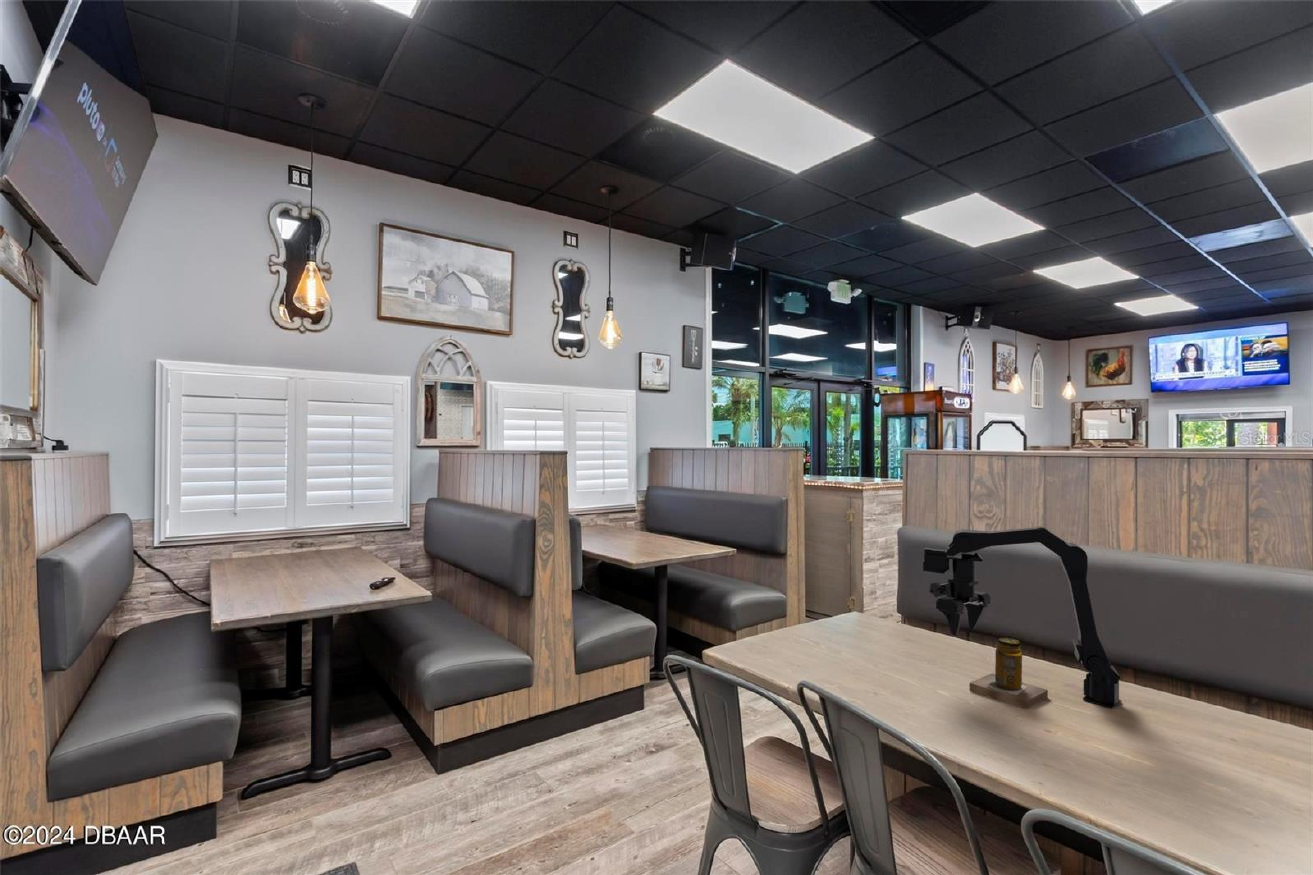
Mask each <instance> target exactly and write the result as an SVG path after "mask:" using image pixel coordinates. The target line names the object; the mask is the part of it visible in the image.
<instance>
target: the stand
mask: <svg viewBox="0 0 1313 875" xmlns="http://www.w3.org/2000/svg"><path fill="white" fill-rule="evenodd" d="M994 680H995V673H994V672H992V673H988V674H987V675H984V676H982V677H980V678H978V679H975V680H973V681H970V682H969V691H970V692H974V693H977V694H979V695H983V696H986V697H989V698H991V699H994V700H998V701H1000V702H1003V703H1007V704H1010V705H1012V706H1015V707H1019V708H1022V709H1023V710H1024V709H1025V710H1027V709H1030V708H1031V707H1033V706H1036V705H1037V704H1039V703H1040V702H1042V700H1043V701H1044V700H1046V699H1048V697H1049V695H1048V694H1049V693H1048V692H1049V691H1048V689H1045V688H1042V687H1039V686H1035V685H1032V684H1029V683H1025V682H1023V681H1022V685H1025V686H1027V687H1026V688H1025V689H1024V690H1023V691H1021V692H1020V693H1019V694H1018V695H1015V694H1010V693H1007V692H1003V691H999V690H996V689H993V688H990V687H987V685H988V684H990V683H991V682H993V681H994Z"/></svg>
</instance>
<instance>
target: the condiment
mask: <svg viewBox="0 0 1313 875" xmlns="http://www.w3.org/2000/svg"><path fill="white" fill-rule="evenodd" d="M996 642H997V644H996V648H995V663H994V664H995V668H994V669H995V670H994V671H995V672H994V674H995V680H994V681H993V682H991V683H990V684H988V685H987V687H990V688H993V689H996V690H999V691H1003V692H1007V693H1010V694H1015V695H1018V694H1019V693H1020V692H1021V691H1023V690H1024V689H1025V688H1026V687H1027V686H1025V685H1022V682H1023V681H1022V680H1023V679H1022V678H1023V676H1022V675H1023V666H1022V665H1023V664H1022V663H1023V653H1022V652H1021V649H1022V648H1021V642H1020V641H1019V640H1017V639H1016V638H1015V639H1014V638H1010V637H999V638H997V640H996Z"/></svg>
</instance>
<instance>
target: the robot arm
mask: <svg viewBox="0 0 1313 875" xmlns="http://www.w3.org/2000/svg"><path fill="white" fill-rule="evenodd" d="M951 538H952V541H951V542H950V543H949V545H947V546H946V547H945V549H936V548H934V549H933V548H931V547H925V548H924V555H923V561H922V563H923V565H922V567H923V568H922V571H923V573H929V574H939V575H946V573H947V572H949V571H950V560H951V577H950V578H948V580H947V582H946V583H940V582H939V581H937V582H931V583H930V584H929V590H928V592H929V593H930V594H931V595H933V597H934V598H938V597H940V598H938V599H936V600H935V601H934V602H935V604H934V605H935V606H934V608H935V610H938V611H939V612H940V613H942V614H943V615H944V616H945V618H946V620H947V624H948V627H949V629H950V632H951V635H952V636H957V635H958V633H959V630H960V626H961V624H962V620H963V617H964V614H965V612H963V611H964V609H965V608H966V611H967V612H966V613H967V621H968V629H969V630H971V631H974V630H975V628H976V627H977V625H978V623H979V621H980V620H981V617H982V615H983V614H984V612H985V610H986V609H987V608H988V606H989V605H990V604H991V596H990V595H989V594H988V592H987V593H986V592H983V591H978V590H976V585H979V580H978V579H976V562H979V563H981V562H983V561H984V559H983V556H981V555H980V554H979V552H978V551H979V550H983V549H985V548H990V547H997V546H998V547H999V546H1010V545H1011V546H1012V545H1022V544H1024V545H1025V544H1034V543H1035V544H1036V543H1038V544H1039V543H1040V544H1041V545H1043V546H1044V547H1045V548H1047V549H1048V550H1050V551H1052V552H1053V553H1054V554H1056V555H1057V557H1058V560H1059V562H1060V564H1061V567H1062V569H1063V571H1064V573H1065V575H1066V578H1067V580H1068V581H1067V582H1068V585H1069V586H1068V587H1069V590H1070V591H1069V592H1070V595H1071V596H1070V597H1071V600H1072V605H1073V611H1074V616H1075V621H1076V626H1077V630H1078V634H1077V635H1078V636H1077V638H1076V639H1075V638H1071V641H1072V643H1073V646H1074V656H1075V658H1076V659H1077V661H1078V662H1079V663H1081V665H1082V666H1083V667H1084V669H1085V670H1086V671H1087V672H1088V673H1086V674H1085V678H1084V679H1083V697H1082V700H1083V701H1087V702H1090V703H1093V704H1097V705H1100V706H1104V707H1107V708H1109V707H1110V709H1114V708H1115V707H1117V706H1118V705H1120V704H1122V703H1123V702H1122V700H1121V699H1120V679H1121V676H1120V675H1119V673H1118V672H1117V670H1116V669H1115V667H1114V666H1113V665H1112V664H1111V662H1110V661H1109V658H1108V656H1107V654H1106V651H1105V649H1104V646H1103V644H1102V643H1101V640H1100V638H1099V636H1098V631H1097V626H1096V621H1095V617H1094V612H1093V607H1092V602H1091V598H1090V596H1091V595H1090V592H1089V588H1088V587H1089V586H1088V582H1087V577H1088V568H1089V567H1088V566H1089V564H1088V563H1089V562H1088V561H1089V558H1088V554H1087V552H1086V551H1085V550H1084V549H1083V548H1082V547H1080V545H1078V544H1077V543H1074V542H1066V541H1065V540H1064V539H1061V538H1060V537H1059V536H1057V535H1056V534H1054V533H1052V532H1051V531H1049V530H1048V529H1047V528H1046V527H1045V526H1042V525H1038V526H1034V527H1025V528H1014V529H1001V530H989V531H986V530H975V529H965V528H964V529H962V528H961V529H958V530H956V531H955V532H954V534H953V535H952V537H951ZM971 552H973V553H971ZM960 553H961V554H960ZM958 554H960V555H958ZM942 596H944V597H942ZM1121 702H1122V703H1121ZM1116 705H1117V706H1116Z"/></svg>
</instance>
